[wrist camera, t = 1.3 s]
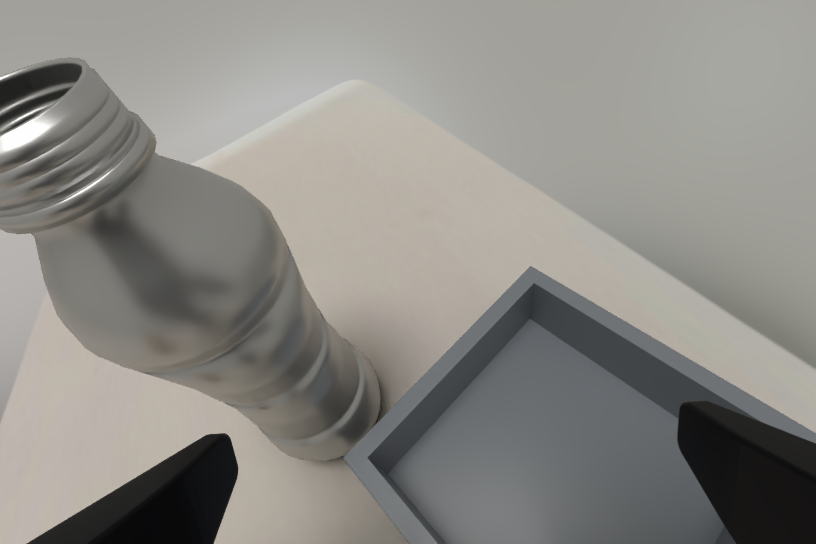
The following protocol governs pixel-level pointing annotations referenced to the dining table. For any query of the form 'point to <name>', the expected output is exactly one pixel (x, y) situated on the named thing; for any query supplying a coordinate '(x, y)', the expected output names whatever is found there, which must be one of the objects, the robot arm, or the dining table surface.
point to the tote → (549, 432)
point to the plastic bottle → (172, 265)
